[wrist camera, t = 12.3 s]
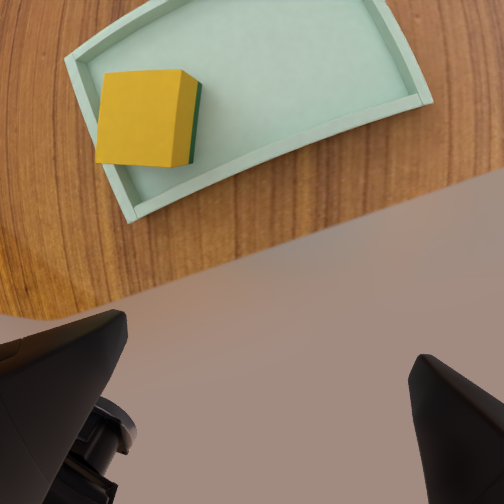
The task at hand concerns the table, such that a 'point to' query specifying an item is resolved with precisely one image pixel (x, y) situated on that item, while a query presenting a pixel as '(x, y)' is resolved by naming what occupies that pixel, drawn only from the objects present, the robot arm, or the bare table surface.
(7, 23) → the table surface
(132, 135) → the sponge
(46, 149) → the table surface
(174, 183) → the tray
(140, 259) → the table surface
